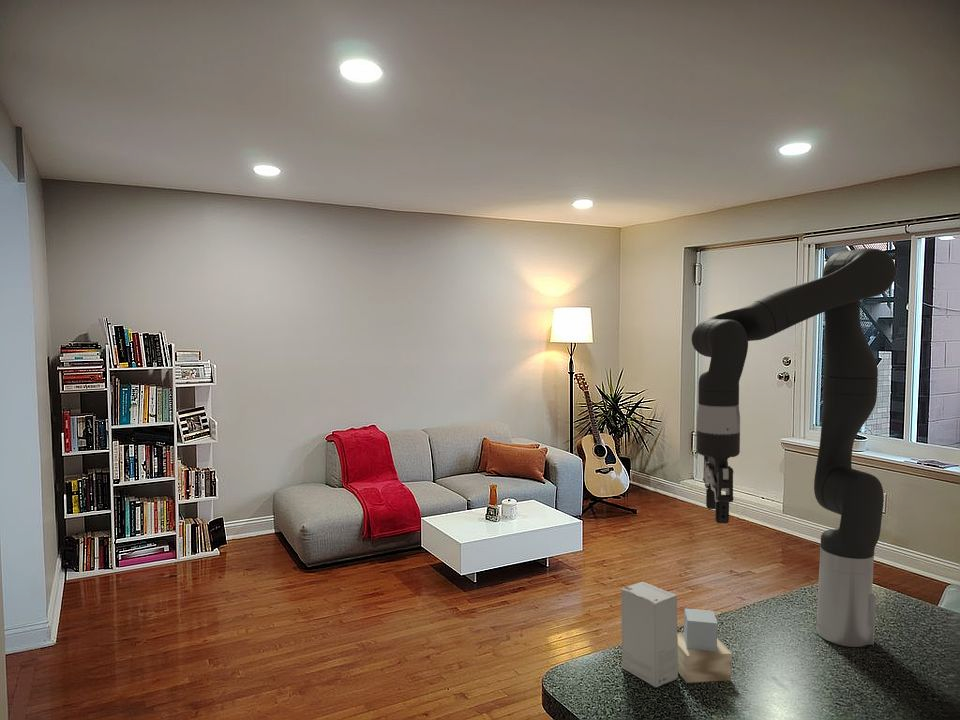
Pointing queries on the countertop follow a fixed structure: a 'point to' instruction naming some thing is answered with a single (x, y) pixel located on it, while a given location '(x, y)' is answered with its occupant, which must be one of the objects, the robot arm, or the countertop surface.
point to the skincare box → (649, 633)
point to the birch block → (703, 663)
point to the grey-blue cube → (700, 629)
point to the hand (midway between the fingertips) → (717, 515)
